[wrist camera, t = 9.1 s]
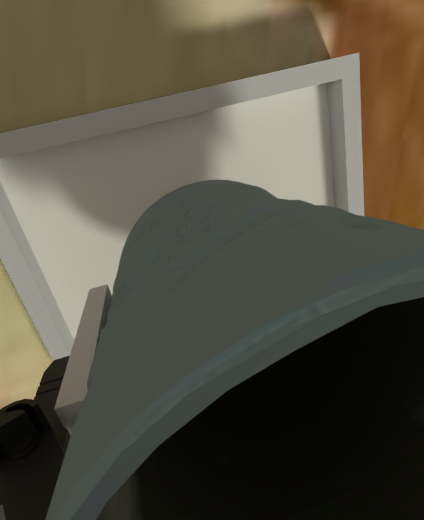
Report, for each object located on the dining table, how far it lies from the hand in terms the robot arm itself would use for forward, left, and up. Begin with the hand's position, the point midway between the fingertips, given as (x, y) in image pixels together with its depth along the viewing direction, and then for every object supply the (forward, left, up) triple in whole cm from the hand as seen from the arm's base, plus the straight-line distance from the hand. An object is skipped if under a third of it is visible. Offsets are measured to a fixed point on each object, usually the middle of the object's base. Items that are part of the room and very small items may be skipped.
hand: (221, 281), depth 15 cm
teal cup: (0, 0, -1) cm, 1 cm away
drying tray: (0, 0, -7) cm, 7 cm away
